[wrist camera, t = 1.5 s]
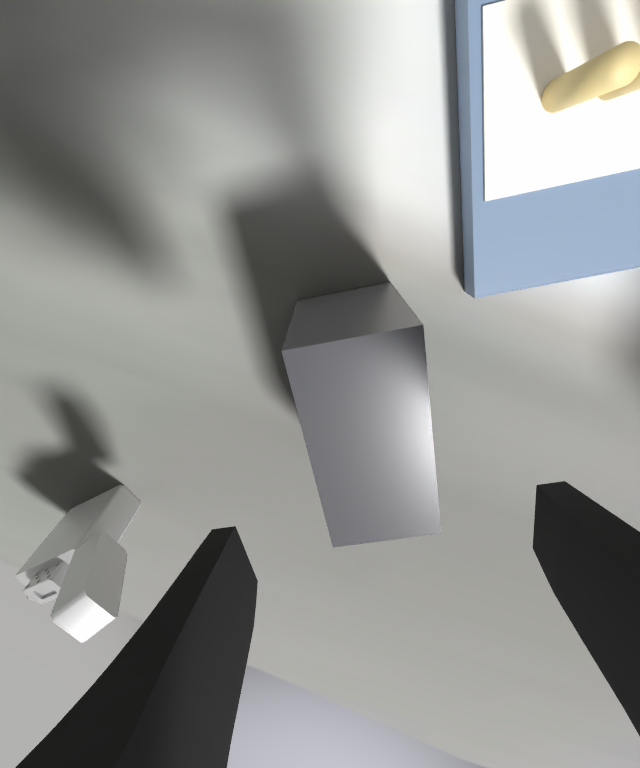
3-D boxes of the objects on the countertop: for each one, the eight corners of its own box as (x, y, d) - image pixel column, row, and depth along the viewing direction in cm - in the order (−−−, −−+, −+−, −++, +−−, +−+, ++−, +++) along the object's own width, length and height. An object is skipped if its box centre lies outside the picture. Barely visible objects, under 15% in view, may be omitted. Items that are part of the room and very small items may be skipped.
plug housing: (390, 281, 16) (423, 324, 10) (409, 439, 19) (441, 533, 14) (296, 300, 16) (281, 350, 11) (331, 451, 20) (333, 547, 14)
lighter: (89, 529, 22) (-23, 685, 15) (68, 509, 22) (-60, 663, 15) (184, 484, 21) (109, 636, 14) (164, 462, 20) (73, 609, 13)
